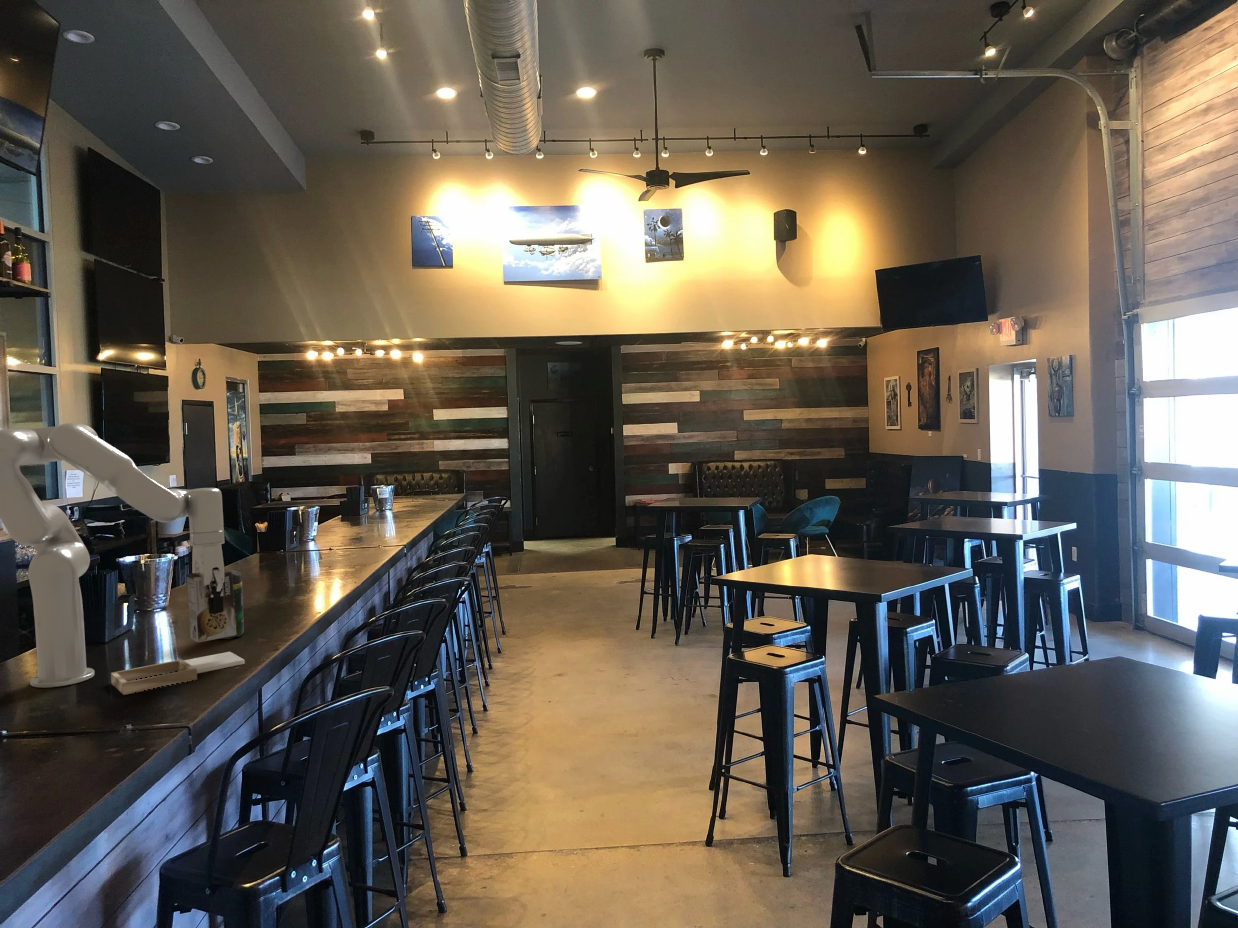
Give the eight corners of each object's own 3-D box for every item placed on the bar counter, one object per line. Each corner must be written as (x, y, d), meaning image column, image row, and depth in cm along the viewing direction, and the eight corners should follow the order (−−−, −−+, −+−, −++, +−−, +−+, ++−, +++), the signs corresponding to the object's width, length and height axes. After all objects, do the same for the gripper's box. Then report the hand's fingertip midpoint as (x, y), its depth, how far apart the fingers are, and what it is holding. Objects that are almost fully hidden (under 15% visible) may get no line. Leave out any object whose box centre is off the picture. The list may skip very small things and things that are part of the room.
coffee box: (228, 631, 214) (224, 568, 214) (237, 635, 210) (233, 570, 209) (189, 638, 208) (185, 573, 207) (197, 642, 204) (193, 576, 203)
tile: (183, 664, 210) (183, 660, 210) (229, 655, 217) (229, 651, 217) (196, 673, 201) (196, 669, 201) (244, 663, 209) (244, 659, 209)
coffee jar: (243, 637, 235) (240, 571, 234) (212, 641, 232) (208, 574, 232) (245, 630, 244) (242, 566, 243) (215, 633, 241) (211, 568, 241)
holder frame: (111, 683, 195) (110, 672, 195) (182, 669, 205) (181, 659, 205) (123, 694, 186) (123, 683, 186) (197, 679, 196) (196, 668, 196)
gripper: (180, 537, 212) (184, 608, 213) (201, 543, 199) (206, 618, 200) (212, 534, 217) (216, 603, 218) (235, 539, 204) (239, 613, 205)
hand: (211, 610), depth 209 cm, fingers closed on coffee box, 6 cm apart
